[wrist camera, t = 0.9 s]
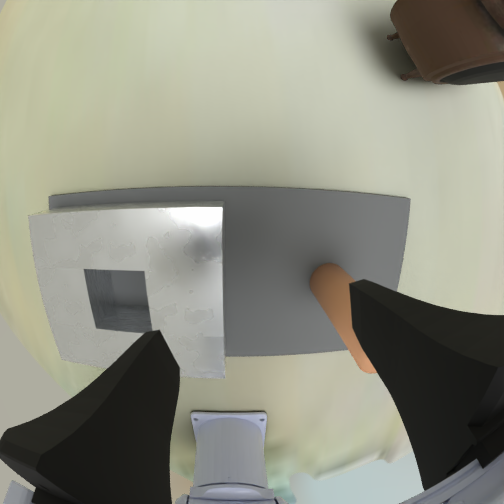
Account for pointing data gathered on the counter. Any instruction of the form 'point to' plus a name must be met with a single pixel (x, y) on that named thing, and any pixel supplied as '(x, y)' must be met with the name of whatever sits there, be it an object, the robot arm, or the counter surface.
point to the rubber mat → (279, 257)
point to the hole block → (135, 259)
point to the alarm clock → (452, 39)
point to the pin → (339, 307)
